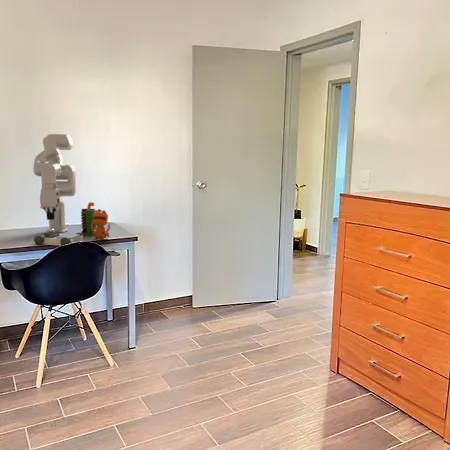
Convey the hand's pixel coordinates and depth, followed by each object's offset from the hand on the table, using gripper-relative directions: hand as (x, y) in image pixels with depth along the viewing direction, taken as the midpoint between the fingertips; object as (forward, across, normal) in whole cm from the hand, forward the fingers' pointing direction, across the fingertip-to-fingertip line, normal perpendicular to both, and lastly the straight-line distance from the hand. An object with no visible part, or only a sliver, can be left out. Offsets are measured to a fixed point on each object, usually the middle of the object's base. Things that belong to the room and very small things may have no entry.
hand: (50, 219), depth 249 cm
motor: (+13, -9, -25) cm, 30 cm away
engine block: (+12, 0, 0) cm, 12 cm away
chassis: (+13, -5, 0) cm, 14 cm away
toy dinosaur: (+13, -21, -17) cm, 30 cm away
